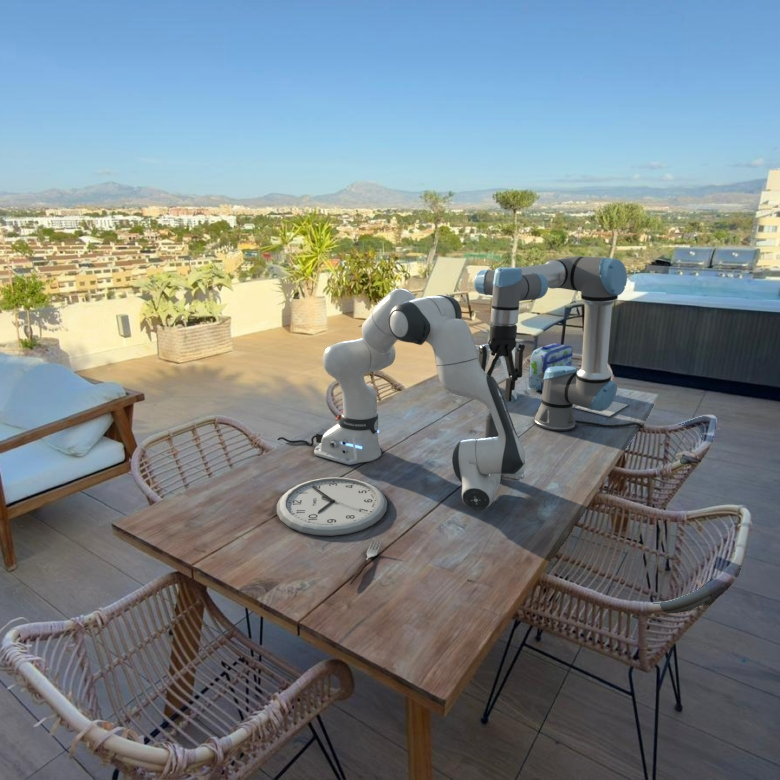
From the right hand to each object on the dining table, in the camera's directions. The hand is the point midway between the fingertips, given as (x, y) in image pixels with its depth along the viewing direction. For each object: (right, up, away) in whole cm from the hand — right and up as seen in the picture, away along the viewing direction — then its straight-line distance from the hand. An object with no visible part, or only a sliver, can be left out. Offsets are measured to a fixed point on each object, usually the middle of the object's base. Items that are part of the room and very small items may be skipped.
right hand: (497, 401), depth 155 cm
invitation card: (+60, -4, +72) cm, 93 cm away
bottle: (0, -23, +7) cm, 24 cm away
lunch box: (+45, +4, +97) cm, 107 cm away
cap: (0, +1, 0) cm, 1 cm away
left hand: (0, -17, +6) cm, 18 cm away
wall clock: (-48, -28, -12) cm, 57 cm away
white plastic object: (+10, +2, +88) cm, 89 cm away
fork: (-38, -36, -37) cm, 64 cm away
